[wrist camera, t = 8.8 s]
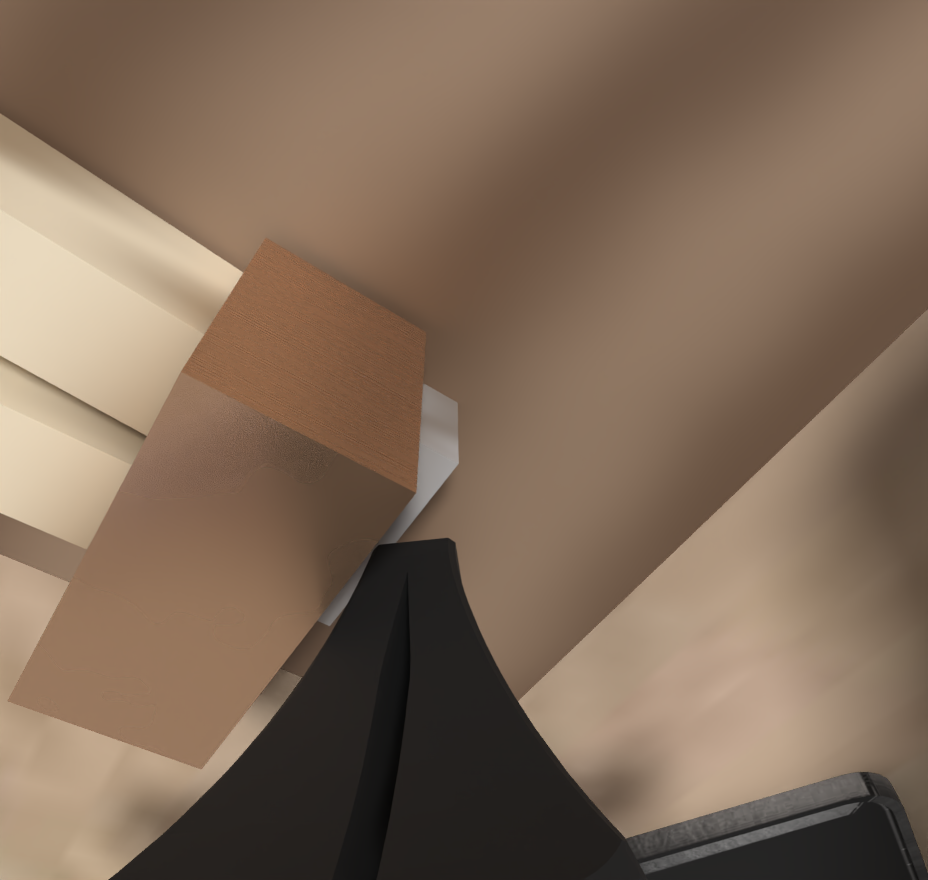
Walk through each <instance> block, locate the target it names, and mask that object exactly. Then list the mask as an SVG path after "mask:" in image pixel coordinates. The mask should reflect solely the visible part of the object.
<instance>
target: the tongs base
mask: <svg viewBox="0 0 928 880" xmlns="http://www.w3.org/2000/svg"><path fill="white" fill-rule="evenodd" d="M0 114H2V115H4V116H5V117H7V118H8V119H10V120H11V121H13V122H14V123H16V124H17V125H19V126H20V127H22V128H23V129H25V130H26V131H28V132H29V133H31V134H33V135H34V136H36V137H37V138H39V139H40V140H42V141H43V142H45V143H46V144H48V145H49V146H51V147H52V148H54V149H55V150H57V151H58V152H60V153H62V154H63V155H65V156H66V157H68V158H69V159H71V160H72V161H74V162H75V163H77V164H78V165H80V166H81V167H83V168H84V169H86V170H87V171H89V172H91V173H92V174H94V175H95V176H97V177H98V178H100V179H101V180H103V181H104V182H106V183H107V184H109V185H110V186H112V187H113V188H115V189H117V190H118V191H120V192H121V193H123V194H124V195H126V196H127V197H129V198H130V199H132V200H133V201H135V202H136V203H138V204H139V205H141V206H142V207H144V208H146V209H147V210H149V211H150V212H152V213H153V214H155V215H156V216H158V217H159V218H161V219H162V220H164V221H165V222H167V223H168V224H170V225H171V226H173V227H175V228H176V229H178V230H179V231H181V232H182V233H184V234H185V235H187V236H188V237H190V238H191V239H193V240H194V241H196V242H197V243H199V244H200V245H202V246H204V247H205V248H207V249H208V250H210V251H211V252H213V253H214V254H216V255H217V256H219V257H220V258H222V259H223V260H225V261H226V262H228V263H229V264H231V265H233V266H234V267H236V268H237V269H239V270H240V271H242V272H243V273H244V271H245V269H246V268H247V266H248V265H249V263H250V261H251V260H252V258H253V257H254V255H255V254H256V252H257V250H258V249H259V247H260V246H261V244H262V243H263V241H264V239H265V238H268V239H269V240H271V241H273V242H275V243H276V244H278V245H280V246H281V247H283V248H285V249H286V250H288V251H290V252H291V253H293V254H295V255H296V256H298V257H300V258H302V259H303V260H305V261H307V262H308V263H310V264H312V265H313V266H315V267H317V268H318V269H320V270H322V271H323V272H325V273H327V274H329V275H330V276H332V277H334V278H335V279H337V280H339V281H340V282H342V283H344V284H345V285H347V286H349V287H350V288H352V289H354V290H356V291H357V292H359V293H361V294H362V295H364V296H366V297H367V298H369V299H371V300H372V301H374V302H376V303H377V304H379V305H381V306H383V307H384V308H386V309H388V310H389V311H391V312H393V313H394V314H396V315H398V316H399V317H401V318H403V319H404V320H406V321H408V322H409V323H411V324H413V325H415V326H416V327H418V328H420V329H421V330H423V331H425V332H426V344H425V361H424V377H423V393H422V409H421V425H420V442H419V458H418V474H417V490H416V494H415V495H414V497H413V498H412V499H411V500H410V502H409V503H408V504H407V506H406V507H405V508H404V509H403V511H402V512H401V513H400V515H399V516H398V517H397V518H396V520H395V521H394V522H393V524H392V525H391V526H390V527H389V529H388V530H387V531H386V533H385V534H384V535H383V536H382V538H381V539H380V540H379V542H378V543H377V544H376V546H375V547H374V548H373V549H372V551H371V552H370V553H369V555H368V556H367V557H366V558H365V560H364V561H363V562H362V564H361V565H360V566H359V567H358V569H357V570H356V571H355V573H354V574H353V575H352V576H351V578H350V579H349V580H348V582H347V583H346V584H345V585H344V587H343V588H342V589H341V591H340V592H339V593H338V594H337V596H336V597H335V598H334V600H333V601H332V602H331V603H330V605H329V606H328V607H327V609H326V610H325V611H324V612H323V614H322V615H321V616H320V618H319V619H318V620H317V621H316V623H315V624H314V625H313V627H312V628H311V629H310V630H309V632H308V633H307V634H306V636H305V637H304V638H303V639H302V641H301V642H300V643H299V645H298V646H297V647H296V648H295V650H294V651H293V652H292V654H291V655H290V656H289V657H288V659H287V660H286V661H285V663H284V664H283V665H282V666H281V669H283V670H286V671H288V672H291V673H293V674H296V675H298V676H301V677H303V676H304V674H305V673H306V671H307V670H308V668H309V667H310V665H311V664H312V662H313V660H314V659H315V657H316V656H317V654H318V653H319V651H320V650H321V648H322V647H323V645H324V644H325V642H326V640H327V639H328V637H329V635H330V634H331V632H332V630H333V628H334V626H335V625H336V623H337V621H338V619H339V618H340V616H341V614H342V612H343V611H344V609H345V607H346V605H347V604H348V602H349V600H350V598H351V596H352V594H353V592H354V590H355V588H356V586H357V584H358V582H359V580H360V578H361V576H362V574H363V572H364V570H365V568H366V565H367V563H368V561H369V559H370V556H371V554H372V552H373V550H374V549H375V548H376V547H377V546H378V545H380V544H390V543H400V542H410V541H420V540H430V539H439V538H450V539H451V540H453V541H454V542H455V543H456V549H457V555H458V561H459V568H460V574H461V580H462V585H463V588H464V591H465V594H466V597H467V600H468V603H469V605H470V608H471V610H472V612H473V615H474V617H475V620H476V622H477V625H478V627H479V629H480V632H481V634H482V636H483V638H484V640H485V642H486V645H487V647H488V648H489V650H490V652H491V654H492V656H493V658H494V660H495V662H496V664H497V666H498V668H499V670H500V672H501V674H502V675H503V677H504V679H505V681H506V682H507V684H508V686H509V688H510V689H511V691H512V693H513V694H514V696H515V698H516V699H517V701H518V700H519V699H521V698H522V697H523V696H524V695H525V694H526V693H527V692H528V691H529V690H530V689H531V688H532V687H533V686H534V685H535V684H536V683H537V682H538V681H539V680H540V679H541V678H542V677H544V676H545V675H546V674H547V673H548V672H549V671H550V670H551V669H552V668H553V667H554V666H555V665H556V664H557V663H558V662H559V661H560V660H561V659H562V658H563V657H564V656H565V655H567V654H568V653H569V652H570V651H571V650H572V649H573V648H574V647H575V646H576V645H577V644H578V643H579V642H580V641H581V640H582V639H583V638H584V637H585V636H586V635H587V634H588V633H589V632H591V631H592V630H593V629H594V628H595V627H596V626H597V625H598V624H599V623H600V622H601V621H602V620H603V619H604V618H605V617H606V616H607V615H608V614H609V613H610V612H611V611H612V610H614V609H615V608H616V607H617V606H618V605H619V604H620V603H621V602H622V601H623V600H624V599H625V598H626V597H627V596H628V595H629V594H630V593H631V592H632V591H633V590H634V589H635V588H637V587H638V586H639V585H640V584H641V583H642V582H643V581H644V580H645V579H646V578H647V577H648V576H649V575H650V574H651V573H652V572H653V571H654V570H655V569H656V568H657V567H658V566H659V565H661V564H662V563H663V562H664V561H665V560H666V559H667V558H668V557H669V556H670V555H671V554H672V553H673V552H674V551H675V550H676V549H677V548H678V547H679V546H680V545H681V544H682V543H684V542H685V541H686V540H687V539H688V538H689V537H690V536H691V535H692V534H693V533H694V532H695V531H696V530H697V529H698V528H699V527H700V526H701V525H702V524H703V523H704V522H705V521H707V520H708V519H709V518H710V517H711V516H712V515H713V514H714V513H715V512H716V511H717V510H718V509H719V508H720V507H721V506H722V505H723V504H724V503H725V502H726V501H727V500H728V499H729V498H731V497H732V496H733V495H734V494H735V493H736V492H737V491H738V490H739V489H740V488H741V487H742V486H743V485H744V484H745V483H746V482H747V481H748V480H749V479H750V478H751V477H752V476H754V475H755V474H756V473H757V472H758V471H759V470H760V469H761V468H762V467H763V466H764V465H765V464H766V463H767V462H768V461H769V460H770V459H771V458H772V457H773V456H774V455H775V454H777V453H778V452H779V451H780V450H781V449H782V448H783V447H784V446H785V445H786V444H787V443H788V442H789V441H790V440H791V439H792V438H793V437H794V436H795V435H796V434H797V433H798V432H800V431H801V430H802V429H803V428H804V427H805V426H806V425H807V424H808V423H809V422H810V421H811V420H812V419H813V418H814V417H815V416H816V415H817V414H818V413H819V412H820V411H821V410H822V409H824V408H825V407H826V406H827V405H828V404H829V403H830V402H831V401H832V400H833V399H834V398H835V397H836V396H837V395H838V394H839V393H840V392H841V391H842V390H843V389H844V388H845V387H847V386H848V385H849V384H850V383H851V382H852V381H853V380H854V379H855V378H856V377H857V376H858V375H859V374H860V373H861V372H862V371H863V370H864V369H865V368H866V367H867V366H868V365H870V364H871V363H872V362H873V361H874V360H875V359H876V358H877V357H878V356H879V355H880V354H881V353H882V352H883V351H884V350H885V349H886V348H887V347H888V346H889V345H890V344H891V343H892V342H894V341H895V340H896V339H897V338H898V337H899V336H900V335H901V334H902V333H903V332H904V331H905V330H906V329H907V328H908V327H909V326H910V325H911V324H912V323H913V322H914V321H915V320H917V319H918V318H919V317H920V316H921V315H922V314H923V313H924V312H925V311H926V310H927V309H928V0H0ZM146 437H147V436H146V435H144V434H142V433H140V432H138V431H137V430H135V429H133V428H131V427H129V426H128V425H126V424H124V423H122V422H120V421H118V420H117V419H115V418H113V417H111V416H109V415H108V414H106V413H104V412H102V411H100V410H98V409H97V408H95V407H93V406H91V405H89V404H87V403H86V402H84V401H82V400H80V399H78V398H77V397H75V396H73V395H71V394H69V393H67V392H66V391H64V390H62V389H60V388H58V387H56V386H55V385H53V384H51V383H49V382H47V381H46V380H44V379H42V378H40V377H38V376H36V375H35V374H33V373H31V372H29V371H27V370H25V369H24V368H22V367H20V366H18V365H16V364H15V363H13V362H11V361H9V360H7V359H5V358H4V357H2V356H0V554H1V555H4V556H6V557H9V558H11V559H14V560H16V561H19V562H21V563H23V564H26V565H28V566H31V567H33V568H36V569H38V570H41V571H43V572H45V573H48V574H50V575H53V576H55V577H58V578H60V579H63V580H65V581H68V582H70V581H71V579H72V578H73V576H74V574H75V572H76V570H77V568H78V566H79V564H80V562H81V560H82V559H83V557H84V555H85V553H86V551H87V549H88V547H89V545H90V543H91V541H92V540H93V538H94V536H95V534H96V532H97V530H98V528H99V526H100V524H101V522H102V521H103V519H104V517H105V515H106V513H107V511H108V509H109V507H110V505H111V503H112V502H113V500H114V498H115V496H116V494H117V492H118V490H119V488H120V486H121V484H122V483H123V481H124V479H125V477H126V475H127V473H128V471H129V469H130V467H131V465H132V464H133V462H134V460H135V458H136V456H137V454H138V452H139V450H140V448H141V446H142V444H143V443H144V441H145V439H146Z"/></svg>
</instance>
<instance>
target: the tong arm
mask: <svg viewBox="0 0 928 880" xmlns="http://www.w3.org/2000/svg"><path fill="white" fill-rule="evenodd" d="M242 274H243V272H242V271H240V270H239V269H237V268H236V267H234V266H233V265H231V264H229V263H228V262H226V261H225V260H223V259H222V258H220V257H219V256H217V255H216V254H214V253H213V252H211V251H210V250H208V249H207V248H205V247H204V246H202V245H200V244H199V243H197V242H196V241H194V240H193V239H191V238H190V237H188V236H187V235H185V234H184V233H182V232H181V231H179V230H178V229H176V228H175V227H173V226H171V225H170V224H168V223H167V222H165V221H164V220H162V219H161V218H159V217H158V216H156V215H155V214H153V213H152V212H150V211H149V210H147V209H146V208H144V207H142V206H141V205H139V204H138V203H136V202H135V201H133V200H132V199H130V198H129V197H127V196H126V195H124V194H123V193H121V192H120V191H118V190H117V189H115V188H113V187H112V186H110V185H109V184H107V183H106V182H104V181H103V180H101V179H100V178H98V177H97V176H95V175H94V174H92V173H91V172H89V171H87V170H86V169H84V168H83V167H81V166H80V165H78V164H77V163H75V162H74V161H72V160H71V159H69V158H68V157H66V156H65V155H63V154H62V153H60V152H58V151H57V150H55V149H54V148H52V147H51V146H49V145H48V144H46V143H45V142H43V141H42V140H40V139H39V138H37V137H36V136H34V135H33V134H31V133H29V132H28V131H26V130H25V129H23V128H22V127H20V126H19V125H17V124H16V123H14V122H13V121H11V120H10V119H8V118H7V117H5V116H4V115H2V114H0V356H2V357H4V358H5V359H7V360H9V361H11V362H13V363H15V364H16V365H18V366H20V367H22V368H24V369H25V370H27V371H29V372H31V373H33V374H35V375H36V376H38V377H40V378H42V379H44V380H46V381H47V382H49V383H51V384H53V385H55V386H56V387H58V388H60V389H62V390H64V391H66V392H67V393H69V394H71V395H73V396H75V397H77V398H78V399H80V400H82V401H84V402H86V403H87V404H89V405H91V406H93V407H95V408H97V409H98V410H100V411H102V412H104V413H106V414H108V415H109V416H111V417H113V418H115V419H117V420H118V421H120V422H122V423H124V424H126V425H128V426H129V427H131V428H133V429H135V430H137V431H138V432H140V433H142V434H144V435H146V436H147V435H148V433H149V431H150V429H151V427H152V425H153V424H154V422H155V420H156V418H157V416H158V414H159V412H160V410H161V408H162V406H163V405H164V403H165V401H166V399H167V397H168V395H169V393H170V391H171V389H172V387H173V386H174V384H175V382H176V380H177V378H178V376H179V374H180V372H181V371H182V369H183V367H184V366H185V364H186V363H187V361H188V359H189V358H190V356H191V355H192V353H193V352H194V350H195V348H196V347H197V345H198V344H199V342H200V341H201V339H202V337H203V336H204V334H205V333H206V331H207V329H208V328H209V326H210V325H211V323H212V322H213V320H214V318H215V317H216V315H217V314H218V312H219V310H220V309H221V307H222V306H223V304H224V303H225V301H226V299H227V298H228V296H229V295H230V293H231V292H232V290H233V288H234V287H235V285H236V284H237V282H238V280H239V279H240V277H241V276H242Z"/></svg>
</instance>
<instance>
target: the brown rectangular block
mask: <svg viewBox="0 0 928 880" xmlns="http://www.w3.org/2000/svg"><path fill="white" fill-rule="evenodd" d="M425 344H426V332H425V331H423V330H421V329H420V328H418V327H416V326H415V325H413V324H411V323H409V322H408V321H406V320H404V319H403V318H401V317H399V316H398V315H396V314H394V313H393V312H391V311H389V310H388V309H386V308H384V307H383V306H381V305H379V304H377V303H376V302H374V301H372V300H371V299H369V298H367V297H366V296H364V295H362V294H361V293H359V292H357V291H356V290H354V289H352V288H350V287H349V286H347V285H345V284H344V283H342V282H340V281H339V280H337V279H335V278H334V277H332V276H330V275H329V274H327V273H325V272H323V271H322V270H320V269H318V268H317V267H315V266H313V265H312V264H310V263H308V262H307V261H305V260H303V259H302V258H300V257H298V256H296V255H295V254H293V253H291V252H290V251H288V250H286V249H285V248H283V247H281V246H280V245H278V244H276V243H275V242H273V241H271V240H269V239H268V238H265V239H264V241H263V243H262V244H261V246H260V247H259V249H258V250H257V252H256V254H255V255H254V257H253V258H252V260H251V261H250V263H249V265H248V266H247V268H246V269H245V271H244V273H243V274H242V276H241V277H240V279H239V280H238V282H237V284H236V285H235V287H234V288H233V290H232V292H231V293H230V295H229V296H228V298H227V299H226V301H225V303H224V304H223V306H222V307H221V309H220V310H219V312H218V314H217V315H216V317H215V318H214V320H213V322H212V323H211V325H210V326H209V328H208V329H207V331H206V333H205V334H204V336H203V337H202V339H201V341H200V342H199V344H198V345H197V347H196V348H195V350H194V352H193V353H192V355H191V356H190V358H189V359H188V361H187V363H186V364H185V366H184V367H183V369H182V371H181V372H180V374H179V376H178V378H177V380H176V382H175V384H174V386H173V387H172V389H171V391H170V393H169V395H168V397H167V399H166V401H165V403H164V405H163V406H162V408H161V410H160V412H159V414H158V416H157V418H156V420H155V422H154V424H153V425H152V427H151V429H150V431H149V433H148V435H147V437H146V439H145V441H144V443H143V444H142V446H141V448H140V450H139V452H138V454H137V456H136V458H135V460H134V462H133V464H132V465H131V467H130V469H129V471H128V473H127V475H126V477H125V479H124V481H123V483H122V484H121V486H120V488H119V490H118V492H117V494H116V496H115V498H114V500H113V502H112V503H111V505H110V507H109V509H108V511H107V513H106V515H105V517H104V519H103V521H102V522H101V524H100V526H99V528H98V530H97V532H96V534H95V536H94V538H93V540H92V541H91V543H90V545H89V547H88V549H87V551H86V553H85V555H84V557H83V559H82V560H81V562H80V564H79V566H78V568H77V570H76V572H75V574H74V576H73V578H72V579H71V581H70V583H69V585H68V587H67V589H66V591H65V593H64V595H63V597H62V598H61V600H60V602H59V604H58V606H57V608H56V610H55V612H54V614H53V616H52V618H51V619H50V621H49V623H48V625H47V627H46V629H45V631H44V633H43V635H42V637H41V638H40V640H39V642H38V644H37V646H36V648H35V650H34V652H33V654H32V656H31V657H30V659H29V661H28V663H27V665H26V667H25V669H24V671H23V673H22V675H21V676H20V678H19V680H18V682H17V684H16V686H15V688H14V690H13V692H12V694H11V695H10V697H9V699H8V702H11V703H14V704H17V705H20V706H23V707H26V708H28V709H31V710H34V711H37V712H40V713H43V714H45V715H48V716H51V717H54V718H57V719H60V720H63V721H65V722H68V723H71V724H74V725H77V726H80V727H82V728H85V729H88V730H91V731H94V732H97V733H100V734H102V735H105V736H108V737H111V738H114V739H117V740H120V741H122V742H125V743H128V744H131V745H134V746H137V747H139V748H142V749H145V750H148V751H151V752H154V753H157V754H159V755H162V756H165V757H168V758H171V759H174V760H176V761H179V762H182V763H185V764H188V765H191V766H194V767H196V768H199V769H202V768H203V767H204V766H205V764H206V763H207V762H208V760H209V759H210V758H211V757H212V755H213V754H214V753H215V751H216V750H217V749H218V748H219V746H220V745H221V744H222V742H223V741H224V740H225V739H226V737H227V736H228V735H229V733H230V732H231V731H232V730H233V728H234V727H235V726H236V724H237V723H238V722H239V721H240V719H241V718H242V717H243V715H244V714H245V713H246V711H247V710H248V709H249V708H250V706H251V705H252V704H253V702H254V701H255V700H256V699H257V697H258V696H259V695H260V693H261V692H262V691H263V690H264V688H265V687H266V686H267V684H268V683H269V682H270V681H271V679H272V678H273V677H274V675H275V674H276V673H277V672H278V670H279V669H280V668H281V666H282V665H283V664H284V663H285V661H286V660H287V659H288V657H289V656H290V655H291V654H292V652H293V651H294V650H295V648H296V647H297V646H298V645H299V643H300V642H301V641H302V639H303V638H304V637H305V636H306V634H307V633H308V632H309V630H310V629H311V628H312V627H313V625H314V624H315V623H316V621H317V620H318V619H319V618H320V616H321V615H322V614H323V612H324V611H325V610H326V609H327V607H328V606H329V605H330V603H331V602H332V601H333V600H334V598H335V597H336V596H337V594H338V593H339V592H340V591H341V589H342V588H343V587H344V585H345V584H346V583H347V582H348V580H349V579H350V578H351V576H352V575H353V574H354V573H355V571H356V570H357V569H358V567H359V566H360V565H361V564H362V562H363V561H364V560H365V558H366V557H367V556H368V555H369V553H370V552H371V551H372V549H373V548H374V547H375V546H376V544H377V543H378V542H379V540H380V539H381V538H382V536H383V535H384V534H385V533H386V531H387V530H388V529H389V527H390V526H391V525H392V524H393V522H394V521H395V520H396V518H397V517H398V516H399V515H400V513H401V512H402V511H403V509H404V508H405V507H406V506H407V504H408V503H409V502H410V500H411V499H412V498H413V497H414V495H415V494H416V490H417V474H418V458H419V442H420V425H421V409H422V393H423V377H424V361H425Z"/></svg>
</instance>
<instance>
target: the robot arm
mask: <svg viewBox="0 0 928 880" xmlns="http://www.w3.org/2000/svg"><path fill="white" fill-rule="evenodd" d="M109 880H648V879H647V877H646V875H645V874H644V872H643V870H642V868H641V866H640V864H639V862H638V861H637V859H636V857H635V855H634V853H633V852H632V850H631V848H630V846H629V844H628V842H627V840H626V839H625V837H624V836H623V835H622V834H621V833H620V832H619V831H618V830H617V829H616V828H615V827H614V826H613V824H612V823H611V822H610V821H609V820H608V819H607V818H606V817H605V816H604V815H603V814H602V812H601V811H600V810H599V809H598V808H597V807H596V806H595V804H594V803H593V802H592V801H591V800H590V799H589V798H588V796H587V795H586V794H585V793H584V792H583V790H582V789H581V788H580V787H579V786H578V784H577V783H576V782H575V781H574V779H573V778H572V777H571V776H570V775H569V773H568V772H567V771H566V770H565V768H564V767H563V765H562V764H561V763H560V761H559V760H558V759H557V757H556V756H555V755H554V753H553V752H552V751H551V749H550V748H549V747H548V745H547V744H546V742H545V741H544V740H543V738H542V737H541V736H540V734H539V733H538V732H537V730H536V729H535V727H534V726H533V724H532V723H531V721H530V720H529V718H528V717H527V715H526V713H525V712H524V710H523V709H522V707H521V706H520V704H519V703H518V701H517V699H516V698H515V696H514V694H513V693H512V691H511V689H510V688H509V686H508V684H507V682H506V681H505V679H504V677H503V675H502V674H501V672H500V670H499V668H498V666H497V664H496V662H495V660H494V658H493V656H492V654H491V652H490V650H489V648H488V647H487V645H486V642H485V640H484V638H483V636H482V634H481V632H480V629H479V627H478V625H477V622H476V620H475V617H474V615H473V612H472V610H471V608H470V605H469V603H468V600H467V597H466V594H465V591H464V588H463V585H462V580H461V574H460V568H459V561H458V555H457V549H456V543H455V542H454V541H453V540H451V539H450V538H439V539H430V540H420V541H410V542H400V543H390V544H380V545H378V546H377V547H376V548H375V549H374V550H373V552H372V554H371V556H370V559H369V561H368V563H367V565H366V568H365V570H364V572H363V574H362V576H361V578H360V580H359V582H358V584H357V586H356V588H355V590H354V592H353V594H352V596H351V598H350V600H349V602H348V604H347V605H346V607H345V609H344V611H343V612H342V614H341V616H340V618H339V619H338V621H337V623H336V625H335V626H334V628H333V630H332V632H331V634H330V635H329V637H328V639H327V640H326V642H325V644H324V645H323V647H322V648H321V650H320V651H319V653H318V654H317V656H316V657H315V659H314V660H313V662H312V664H311V665H310V667H309V668H308V670H307V671H306V673H305V674H304V676H303V677H302V679H301V680H300V682H299V683H298V685H297V686H296V687H295V689H294V690H293V692H292V693H291V694H290V696H289V697H288V698H287V700H286V701H285V703H284V704H283V705H282V706H281V708H280V709H279V710H278V712H277V713H276V714H275V715H274V717H273V718H272V719H271V721H270V722H269V723H268V724H267V726H266V727H265V728H264V729H263V730H262V732H261V733H260V734H259V735H258V736H257V738H256V739H255V740H254V741H253V742H252V743H251V745H250V746H249V747H248V748H247V749H246V750H245V752H244V753H243V754H242V755H241V756H240V757H239V759H238V760H237V761H236V762H235V763H234V764H233V765H232V766H231V767H230V768H229V770H228V771H227V772H226V773H225V774H224V775H223V776H222V777H221V778H220V779H219V780H218V781H217V782H216V783H215V784H214V785H213V786H212V787H211V788H210V789H209V790H208V791H207V792H206V793H205V794H204V795H203V796H202V797H201V798H200V799H199V800H198V801H197V802H196V803H195V804H194V805H193V806H192V807H191V808H190V809H189V810H188V811H187V812H186V813H185V814H184V815H183V816H182V817H181V818H180V819H179V820H178V821H177V822H176V823H174V824H173V825H172V826H171V827H170V828H169V829H168V830H167V831H166V832H165V833H164V834H163V835H161V836H160V837H159V838H158V839H157V840H155V841H154V842H153V843H152V844H151V845H150V846H148V847H147V848H146V849H145V850H144V851H142V852H141V853H140V854H139V855H138V856H137V857H135V858H134V859H133V860H132V861H131V862H129V863H128V864H127V865H126V866H125V867H124V868H122V869H121V870H120V871H119V872H118V873H116V874H115V875H114V876H113V877H111V878H110V879H109Z"/></svg>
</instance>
